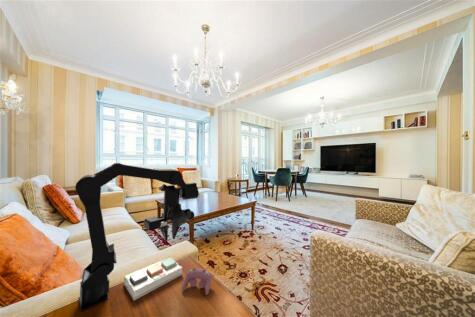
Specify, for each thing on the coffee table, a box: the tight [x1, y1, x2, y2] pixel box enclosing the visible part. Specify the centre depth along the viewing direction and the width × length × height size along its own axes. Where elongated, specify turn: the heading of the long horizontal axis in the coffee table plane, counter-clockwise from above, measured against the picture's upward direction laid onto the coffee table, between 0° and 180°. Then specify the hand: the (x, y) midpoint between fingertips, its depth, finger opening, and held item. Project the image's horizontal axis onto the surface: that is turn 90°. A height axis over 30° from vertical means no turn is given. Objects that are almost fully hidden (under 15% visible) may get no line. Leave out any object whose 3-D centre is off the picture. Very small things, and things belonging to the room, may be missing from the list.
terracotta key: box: [146, 264, 163, 277], centre depth 64 cm, size 4×4×2 cm
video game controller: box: [181, 267, 213, 296], centre depth 61 cm, size 10×5×7 cm, turn 85°
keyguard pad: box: [123, 256, 183, 301], centre depth 64 cm, size 17×10×3 cm, turn 139°
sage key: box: [161, 257, 177, 270], centre depth 68 cm, size 4×4×2 cm
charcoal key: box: [130, 270, 148, 286], centre depth 60 cm, size 4×4×2 cm
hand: (169, 239), depth 68 cm, fingers open, 3 cm apart
